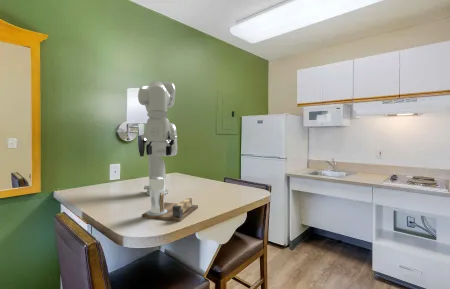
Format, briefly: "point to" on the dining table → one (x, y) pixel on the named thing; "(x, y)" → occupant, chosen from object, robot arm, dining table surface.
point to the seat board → (170, 212)
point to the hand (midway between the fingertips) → (158, 154)
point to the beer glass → (157, 194)
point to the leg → (181, 207)
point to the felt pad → (155, 214)
